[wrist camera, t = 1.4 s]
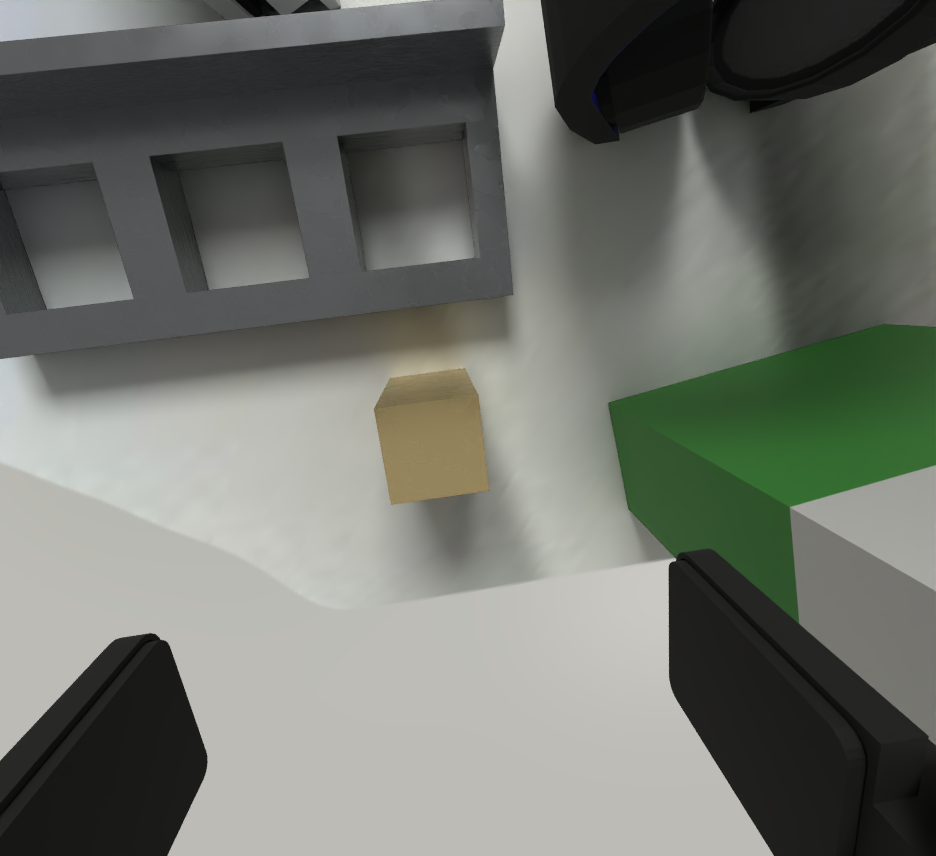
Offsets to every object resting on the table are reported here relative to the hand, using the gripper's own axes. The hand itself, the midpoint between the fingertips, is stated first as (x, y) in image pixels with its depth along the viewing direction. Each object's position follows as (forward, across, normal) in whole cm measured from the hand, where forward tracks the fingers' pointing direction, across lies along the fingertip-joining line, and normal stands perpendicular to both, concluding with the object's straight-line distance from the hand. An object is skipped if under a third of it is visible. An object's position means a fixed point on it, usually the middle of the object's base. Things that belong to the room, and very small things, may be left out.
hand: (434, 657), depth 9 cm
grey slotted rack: (+20, +8, -11) cm, 24 cm away
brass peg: (+20, 0, 0) cm, 20 cm away
